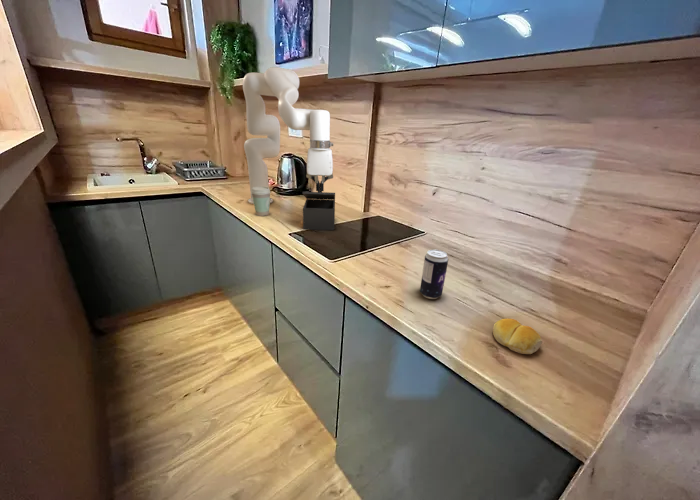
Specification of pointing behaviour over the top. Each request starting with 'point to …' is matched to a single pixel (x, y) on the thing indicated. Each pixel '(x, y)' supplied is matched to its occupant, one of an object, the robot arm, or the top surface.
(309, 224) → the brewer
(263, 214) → the coffee cup
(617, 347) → the top surface
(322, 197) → the lid
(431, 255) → the beverage can
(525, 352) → the bread roll
